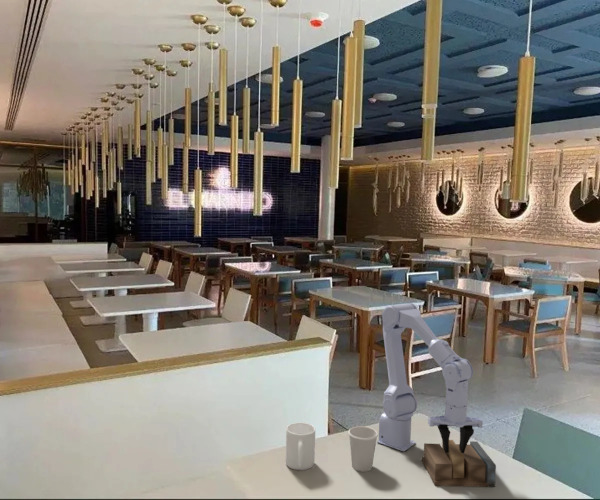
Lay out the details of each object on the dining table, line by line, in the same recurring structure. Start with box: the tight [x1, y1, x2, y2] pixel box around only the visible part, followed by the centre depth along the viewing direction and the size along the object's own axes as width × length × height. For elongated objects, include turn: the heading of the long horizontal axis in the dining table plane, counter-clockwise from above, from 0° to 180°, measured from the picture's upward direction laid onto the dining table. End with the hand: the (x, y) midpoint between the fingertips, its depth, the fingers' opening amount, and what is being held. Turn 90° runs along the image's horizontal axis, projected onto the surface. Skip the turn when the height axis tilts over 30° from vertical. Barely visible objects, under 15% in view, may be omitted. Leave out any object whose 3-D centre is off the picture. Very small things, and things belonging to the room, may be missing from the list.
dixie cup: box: [347, 425, 379, 473], centre depth 142 cm, size 8×8×10 cm
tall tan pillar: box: [441, 439, 464, 478], centre depth 140 cm, size 3×10×6 cm, turn 0°
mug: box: [285, 422, 316, 471], centre depth 141 cm, size 12×8×10 cm
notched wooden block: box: [421, 440, 497, 488], centre depth 140 cm, size 16×14×6 cm
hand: (453, 451), depth 140 cm, fingers open, 4 cm apart
